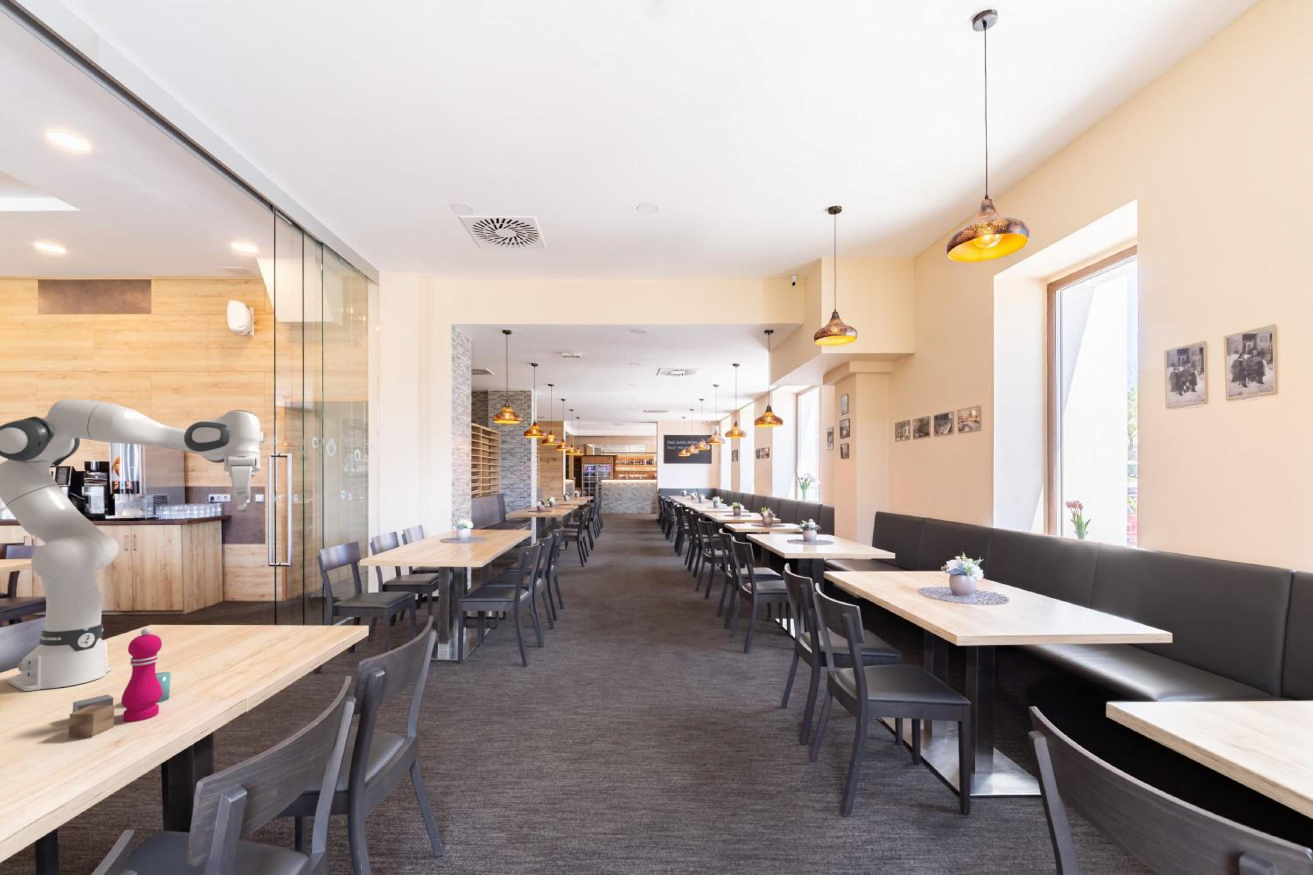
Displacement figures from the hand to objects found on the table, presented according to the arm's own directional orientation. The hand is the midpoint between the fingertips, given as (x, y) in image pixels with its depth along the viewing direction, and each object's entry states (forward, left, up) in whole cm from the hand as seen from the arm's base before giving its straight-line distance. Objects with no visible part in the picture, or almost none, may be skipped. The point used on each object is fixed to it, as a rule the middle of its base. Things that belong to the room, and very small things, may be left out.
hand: (241, 511), depth 174 cm
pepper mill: (+12, -30, -45) cm, 56 cm away
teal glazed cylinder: (+4, -22, -45) cm, 51 cm away
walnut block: (+12, -40, -45) cm, 61 cm away
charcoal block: (+2, -34, -45) cm, 57 cm away
